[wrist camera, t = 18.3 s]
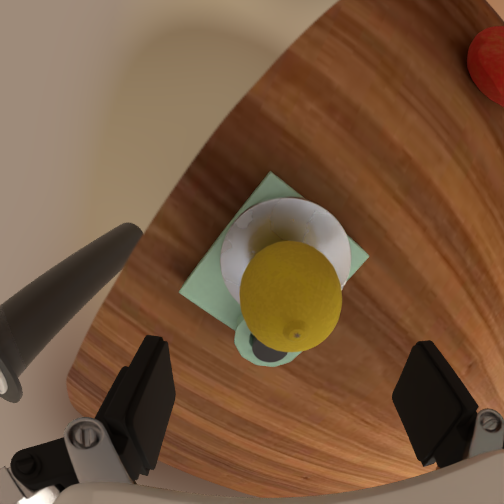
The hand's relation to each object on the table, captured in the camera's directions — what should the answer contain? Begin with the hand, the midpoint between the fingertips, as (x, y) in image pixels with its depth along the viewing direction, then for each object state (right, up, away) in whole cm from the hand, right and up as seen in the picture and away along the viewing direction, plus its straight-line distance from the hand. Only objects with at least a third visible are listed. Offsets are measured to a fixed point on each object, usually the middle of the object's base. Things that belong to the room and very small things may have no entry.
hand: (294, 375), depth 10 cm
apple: (+21, +22, +7) cm, 31 cm away
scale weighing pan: (+1, +4, +10) cm, 11 cm away
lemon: (+1, +4, +10) cm, 11 cm away
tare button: (0, -2, +13) cm, 13 cm away
